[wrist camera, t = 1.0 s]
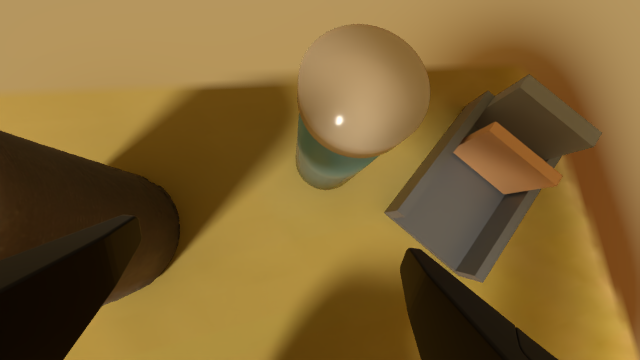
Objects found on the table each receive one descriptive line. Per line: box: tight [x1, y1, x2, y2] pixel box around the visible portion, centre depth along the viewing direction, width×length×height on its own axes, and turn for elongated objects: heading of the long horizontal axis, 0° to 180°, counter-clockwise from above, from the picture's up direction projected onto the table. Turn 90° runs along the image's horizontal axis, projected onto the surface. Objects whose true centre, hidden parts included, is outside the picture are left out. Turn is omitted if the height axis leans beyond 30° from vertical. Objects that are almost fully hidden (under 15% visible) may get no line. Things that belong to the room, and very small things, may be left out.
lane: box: [384, 74, 602, 283], centre depth 22 cm, size 14×9×6 cm, turn 140°
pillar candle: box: [0, 131, 180, 306], centre depth 14 cm, size 10×10×15 cm
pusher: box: [453, 121, 563, 194], centre depth 22 cm, size 1×6×5 cm, turn 50°
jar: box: [296, 24, 430, 190], centre depth 18 cm, size 6×6×13 cm
